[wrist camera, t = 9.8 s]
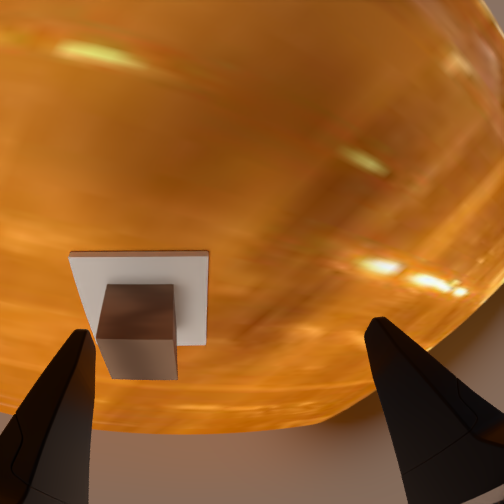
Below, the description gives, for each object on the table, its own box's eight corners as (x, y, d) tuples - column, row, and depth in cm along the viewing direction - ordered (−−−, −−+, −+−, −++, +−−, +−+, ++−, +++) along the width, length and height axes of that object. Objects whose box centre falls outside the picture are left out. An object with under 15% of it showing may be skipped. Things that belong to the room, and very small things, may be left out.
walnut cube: (173, 284, 23) (172, 339, 19) (176, 327, 26) (177, 379, 22) (107, 284, 22) (95, 338, 18) (118, 327, 25) (112, 378, 21)
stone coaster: (208, 250, 22) (208, 256, 22) (205, 339, 28) (205, 344, 28) (70, 251, 20) (68, 257, 20) (98, 339, 26) (97, 344, 26)
